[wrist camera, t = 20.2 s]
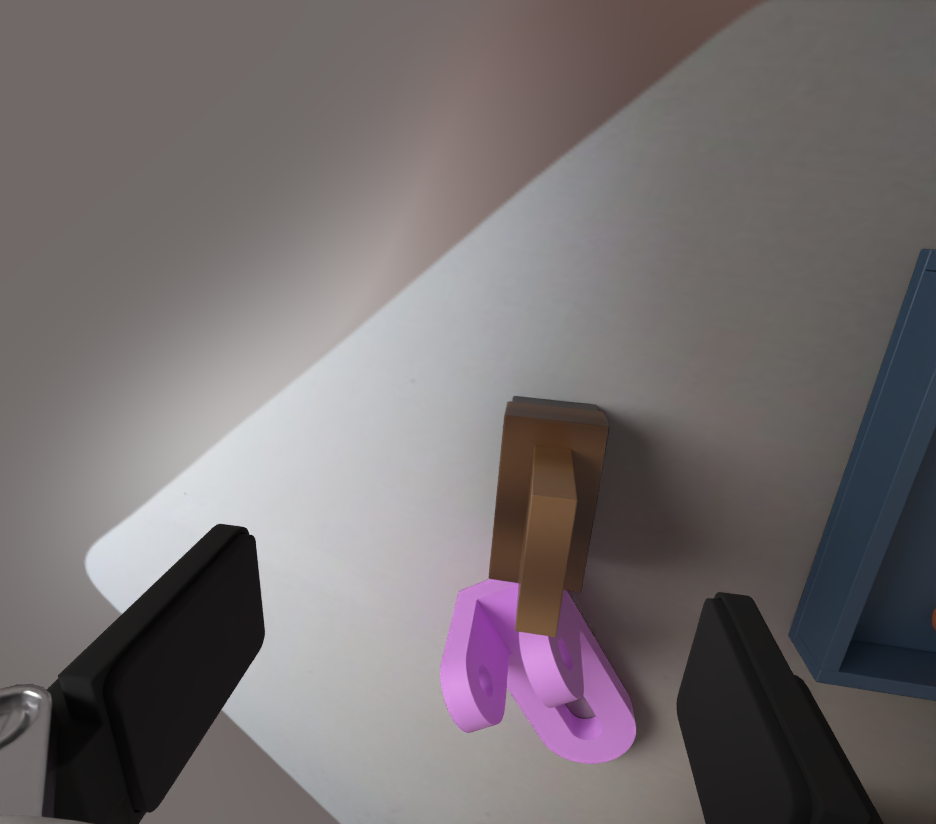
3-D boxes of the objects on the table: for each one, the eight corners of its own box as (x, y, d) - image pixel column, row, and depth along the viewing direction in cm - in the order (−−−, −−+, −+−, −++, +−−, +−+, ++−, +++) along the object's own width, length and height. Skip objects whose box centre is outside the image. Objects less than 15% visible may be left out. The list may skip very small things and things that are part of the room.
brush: (509, 391, 25) (494, 458, 18) (601, 401, 25) (625, 474, 18) (495, 539, 28) (476, 650, 21) (577, 550, 28) (588, 668, 20)
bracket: (458, 591, 30) (434, 692, 23) (546, 556, 28) (546, 654, 22) (562, 751, 33) (566, 881, 26) (648, 727, 31) (675, 859, 25)
